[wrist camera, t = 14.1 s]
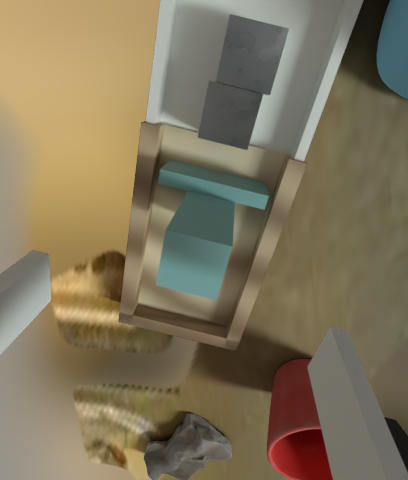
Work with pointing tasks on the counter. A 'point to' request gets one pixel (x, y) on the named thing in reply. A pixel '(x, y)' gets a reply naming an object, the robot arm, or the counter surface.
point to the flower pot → (296, 426)
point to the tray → (287, 77)
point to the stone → (186, 449)
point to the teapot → (394, 48)
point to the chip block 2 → (229, 115)
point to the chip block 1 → (251, 54)
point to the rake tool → (202, 226)
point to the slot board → (244, 236)
